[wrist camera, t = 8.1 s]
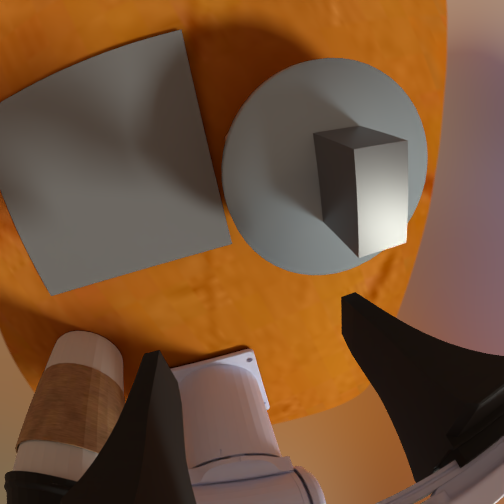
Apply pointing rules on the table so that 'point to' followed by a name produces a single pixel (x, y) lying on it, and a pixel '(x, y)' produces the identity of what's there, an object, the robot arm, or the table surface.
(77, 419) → the coffee cup
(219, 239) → the mat
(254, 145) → the lid
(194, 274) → the table surface
